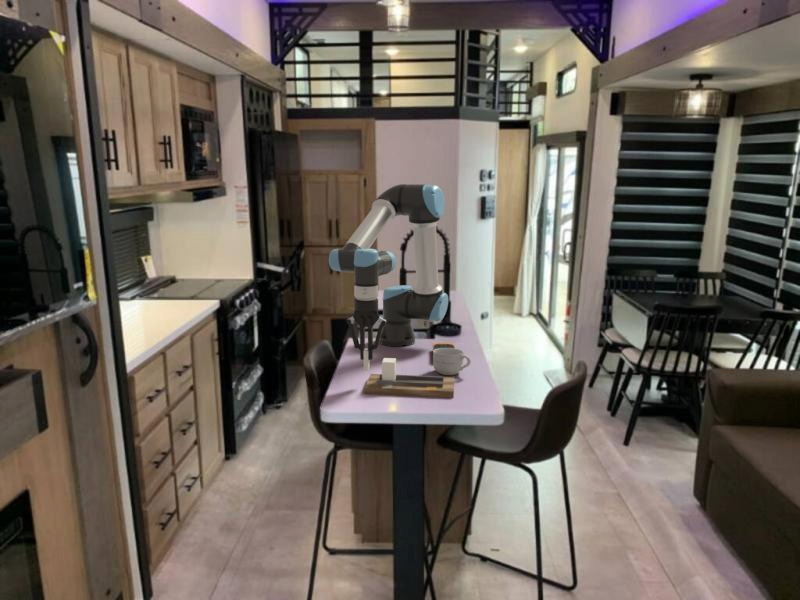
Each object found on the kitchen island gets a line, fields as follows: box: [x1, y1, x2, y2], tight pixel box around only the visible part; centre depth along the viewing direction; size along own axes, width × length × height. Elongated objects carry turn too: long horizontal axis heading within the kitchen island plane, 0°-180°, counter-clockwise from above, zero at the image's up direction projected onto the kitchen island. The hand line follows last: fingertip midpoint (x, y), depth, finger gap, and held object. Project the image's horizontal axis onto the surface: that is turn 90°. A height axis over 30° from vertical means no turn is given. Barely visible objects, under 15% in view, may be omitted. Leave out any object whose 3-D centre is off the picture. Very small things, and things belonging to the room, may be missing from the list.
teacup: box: [432, 348, 472, 376], centre depth 204 cm, size 14×11×8 cm
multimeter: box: [432, 342, 456, 351], centre depth 223 cm, size 9×18×3 cm, turn 178°
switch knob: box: [381, 357, 397, 381], centre depth 190 cm, size 4×4×7 cm
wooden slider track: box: [364, 373, 455, 398], centre depth 190 cm, size 13×28×3 cm, turn 84°
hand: (366, 369), depth 191 cm, fingers closed
